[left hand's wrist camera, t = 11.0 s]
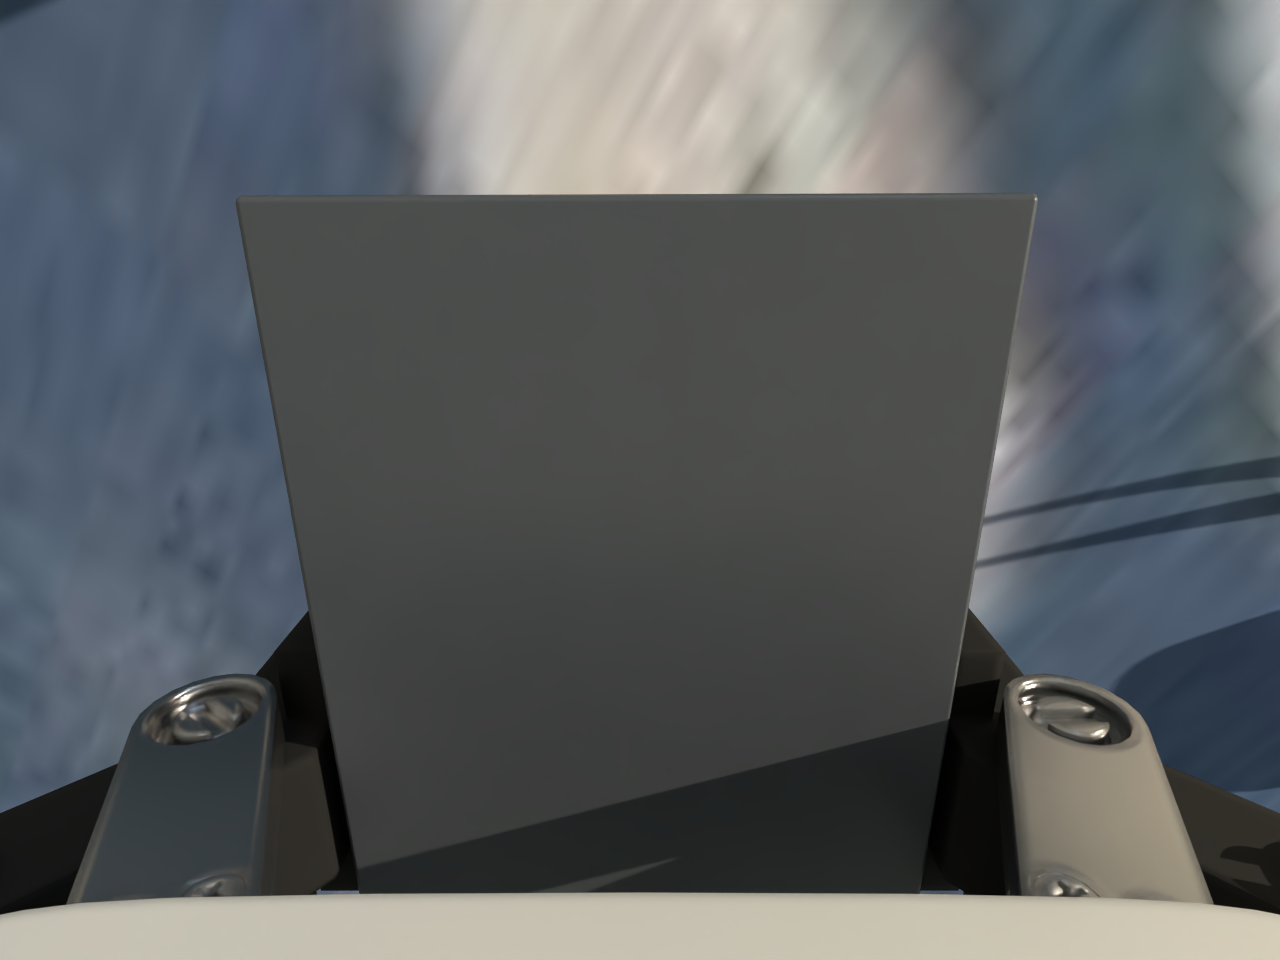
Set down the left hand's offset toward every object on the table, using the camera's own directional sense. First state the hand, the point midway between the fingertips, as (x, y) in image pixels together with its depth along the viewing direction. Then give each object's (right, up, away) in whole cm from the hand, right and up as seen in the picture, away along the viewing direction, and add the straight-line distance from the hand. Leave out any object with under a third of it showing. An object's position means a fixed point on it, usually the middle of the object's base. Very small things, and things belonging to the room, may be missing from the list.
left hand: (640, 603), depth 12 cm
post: (0, -29, +12) cm, 32 cm away
